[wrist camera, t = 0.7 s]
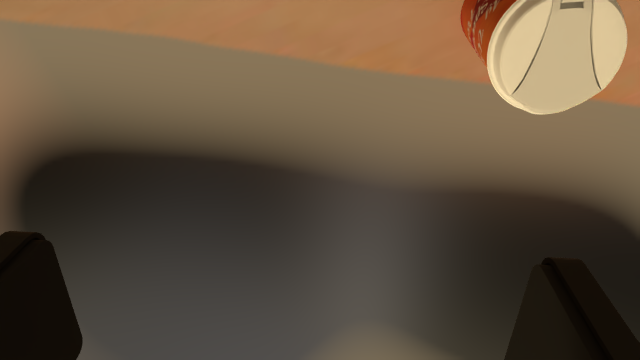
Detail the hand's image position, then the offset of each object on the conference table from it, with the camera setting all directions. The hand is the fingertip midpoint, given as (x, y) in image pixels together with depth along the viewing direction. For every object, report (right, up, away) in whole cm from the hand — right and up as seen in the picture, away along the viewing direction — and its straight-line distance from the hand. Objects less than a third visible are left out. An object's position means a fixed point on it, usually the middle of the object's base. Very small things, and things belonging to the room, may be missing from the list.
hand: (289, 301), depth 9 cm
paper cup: (+15, +16, +29) cm, 37 cm away
